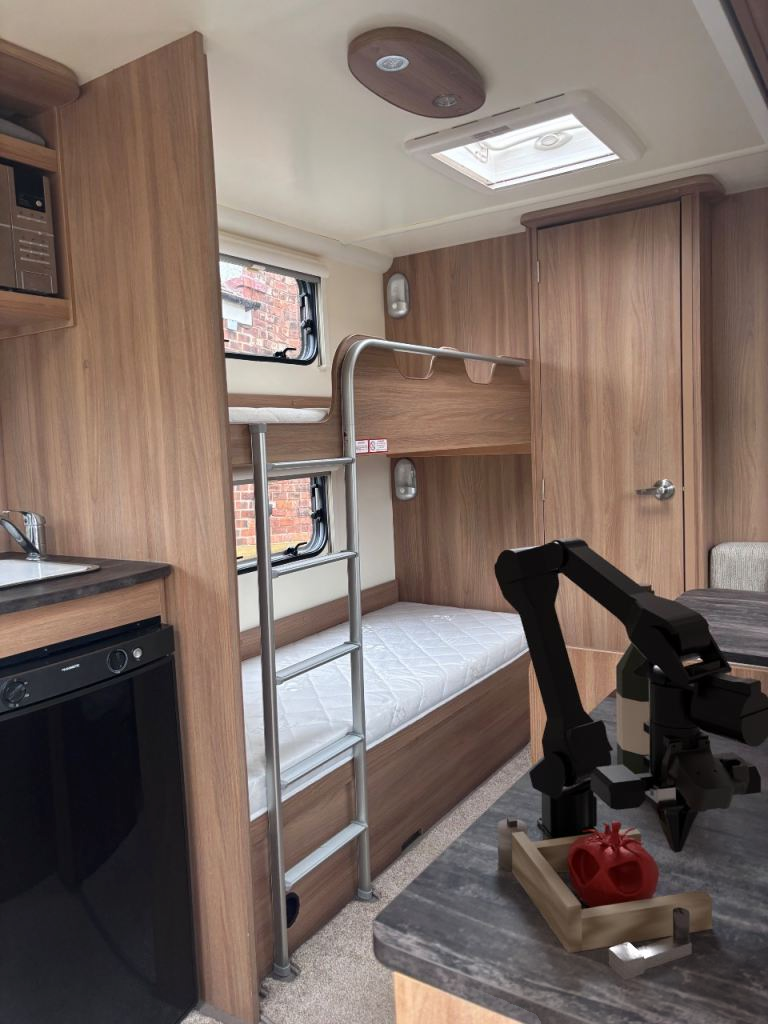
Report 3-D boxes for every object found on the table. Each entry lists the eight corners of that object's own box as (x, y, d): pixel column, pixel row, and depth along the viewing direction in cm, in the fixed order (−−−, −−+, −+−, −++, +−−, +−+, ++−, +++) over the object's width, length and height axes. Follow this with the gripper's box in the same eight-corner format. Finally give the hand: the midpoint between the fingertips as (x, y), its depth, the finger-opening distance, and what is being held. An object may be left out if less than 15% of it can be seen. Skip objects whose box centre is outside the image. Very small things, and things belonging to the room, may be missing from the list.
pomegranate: (586, 869, 97) (585, 796, 96) (669, 892, 91) (668, 814, 90) (555, 907, 88) (553, 827, 88) (644, 935, 83) (643, 849, 82)
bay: (558, 954, 80) (558, 900, 80) (494, 858, 99) (493, 814, 99) (711, 928, 84) (711, 877, 83) (621, 840, 103) (620, 798, 102)
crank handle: (624, 979, 76) (624, 938, 76) (608, 965, 78) (608, 925, 78) (696, 955, 79) (695, 916, 79) (679, 942, 82) (678, 903, 81)
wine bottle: (683, 775, 122) (683, 586, 120) (640, 785, 119) (639, 591, 117) (647, 756, 130) (646, 578, 128) (606, 765, 127) (604, 583, 124)
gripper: (634, 754, 80) (636, 899, 81) (795, 736, 84) (795, 876, 85) (587, 718, 91) (589, 847, 92) (731, 704, 94) (732, 829, 96)
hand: (675, 850), depth 91 cm, fingers closed
